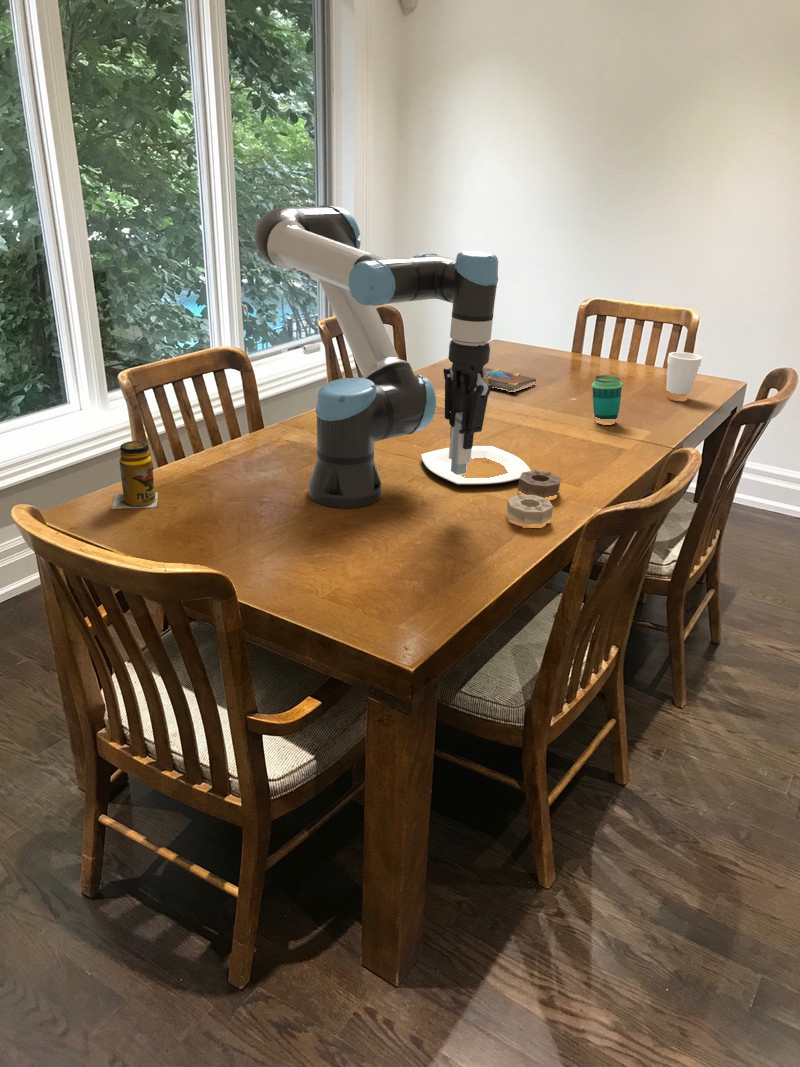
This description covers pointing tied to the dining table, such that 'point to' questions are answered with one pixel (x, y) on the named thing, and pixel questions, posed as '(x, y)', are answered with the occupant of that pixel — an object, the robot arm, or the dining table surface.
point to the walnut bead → (539, 483)
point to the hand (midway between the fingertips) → (459, 460)
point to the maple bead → (529, 509)
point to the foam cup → (682, 371)
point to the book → (505, 379)
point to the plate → (442, 464)
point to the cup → (606, 396)
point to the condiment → (136, 477)
